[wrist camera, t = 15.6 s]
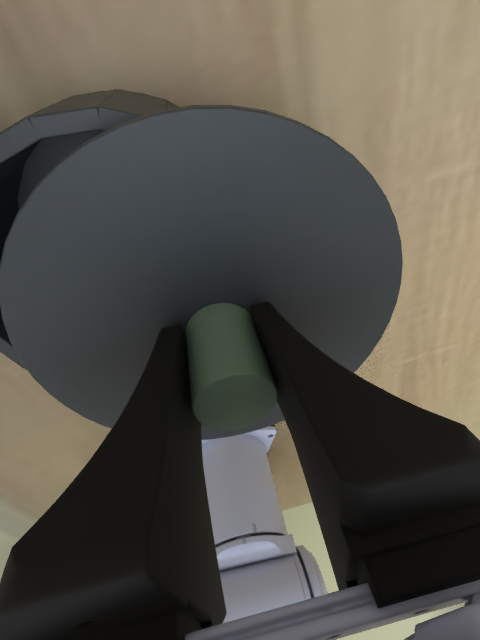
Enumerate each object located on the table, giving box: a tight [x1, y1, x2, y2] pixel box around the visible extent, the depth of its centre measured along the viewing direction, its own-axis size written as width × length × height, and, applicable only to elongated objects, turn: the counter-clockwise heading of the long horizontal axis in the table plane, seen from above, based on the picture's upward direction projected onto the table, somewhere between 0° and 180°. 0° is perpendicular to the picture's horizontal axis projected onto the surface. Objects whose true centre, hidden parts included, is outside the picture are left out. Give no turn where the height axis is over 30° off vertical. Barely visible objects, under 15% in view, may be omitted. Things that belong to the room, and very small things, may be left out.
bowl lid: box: [0, 105, 402, 440], centre depth 11 cm, size 13×13×4 cm
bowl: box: [0, 90, 179, 370], centre depth 16 cm, size 12×12×6 cm
